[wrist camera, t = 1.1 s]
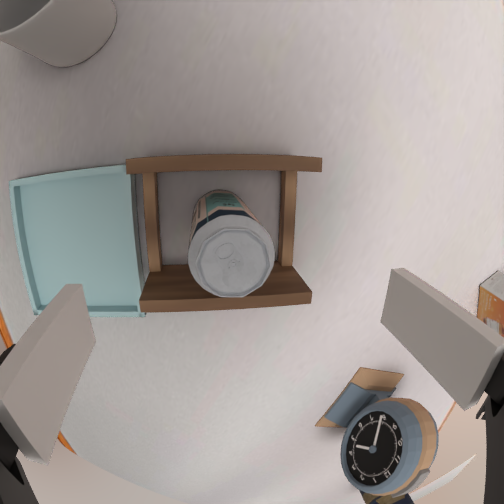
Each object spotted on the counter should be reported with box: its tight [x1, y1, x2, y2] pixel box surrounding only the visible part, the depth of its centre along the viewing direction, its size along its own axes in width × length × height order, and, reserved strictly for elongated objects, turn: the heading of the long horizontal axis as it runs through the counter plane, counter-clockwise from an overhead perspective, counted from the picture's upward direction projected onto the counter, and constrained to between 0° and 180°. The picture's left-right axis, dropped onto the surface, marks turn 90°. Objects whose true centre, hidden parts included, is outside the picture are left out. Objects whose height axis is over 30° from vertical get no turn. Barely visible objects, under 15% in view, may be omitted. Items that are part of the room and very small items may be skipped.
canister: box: [360, 490, 414, 504], centre depth 43 cm, size 10×10×18 cm
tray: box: [9, 164, 146, 317], centre depth 24 cm, size 14×13×2 cm
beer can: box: [188, 190, 275, 297], centre depth 21 cm, size 5×5×12 cm
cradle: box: [126, 154, 322, 313], centre depth 23 cm, size 11×13×7 cm
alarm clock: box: [315, 367, 438, 498], centre depth 31 cm, size 14×10×18 cm
